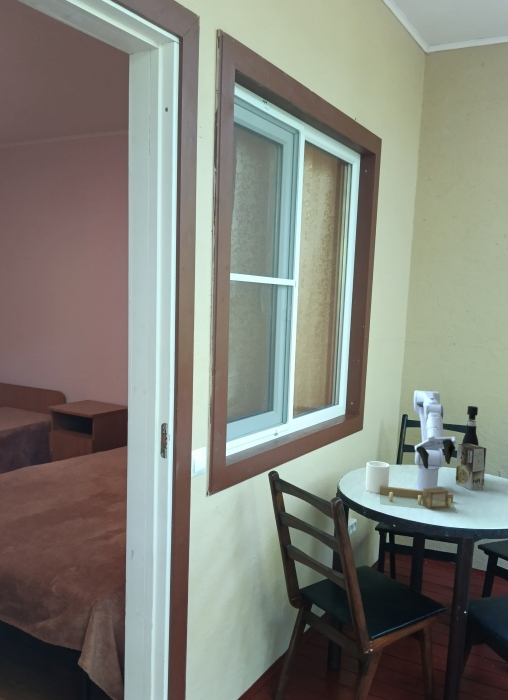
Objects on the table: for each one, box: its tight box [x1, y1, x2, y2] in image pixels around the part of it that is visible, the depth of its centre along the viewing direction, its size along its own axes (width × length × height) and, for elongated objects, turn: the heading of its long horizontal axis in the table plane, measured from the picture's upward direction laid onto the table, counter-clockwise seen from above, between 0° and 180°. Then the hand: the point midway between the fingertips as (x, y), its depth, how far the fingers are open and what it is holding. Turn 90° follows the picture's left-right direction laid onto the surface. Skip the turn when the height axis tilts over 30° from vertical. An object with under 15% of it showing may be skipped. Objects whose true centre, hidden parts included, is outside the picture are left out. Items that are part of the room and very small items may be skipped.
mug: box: [364, 460, 390, 494], centre depth 209 cm, size 12×8×10 cm
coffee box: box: [455, 443, 487, 491], centre depth 219 cm, size 9×6×16 cm
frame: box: [422, 486, 449, 511], centre depth 191 cm, size 4×7×6 cm, turn 108°
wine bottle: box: [461, 405, 480, 446], centre depth 228 cm, size 6×6×30 cm
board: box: [379, 486, 457, 514], centre depth 195 cm, size 12×25×4 cm, turn 78°
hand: (436, 464), depth 190 cm, fingers open, 7 cm apart
